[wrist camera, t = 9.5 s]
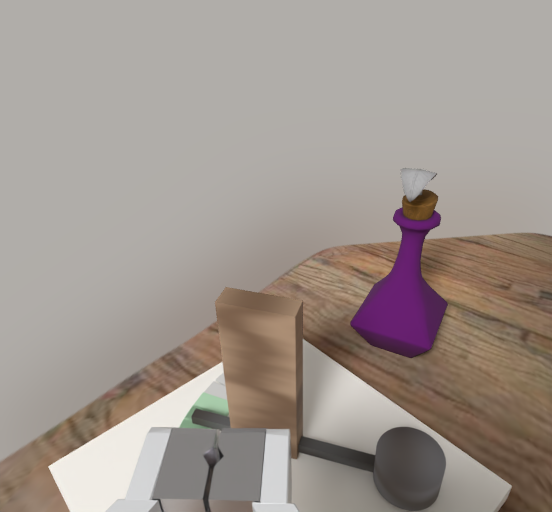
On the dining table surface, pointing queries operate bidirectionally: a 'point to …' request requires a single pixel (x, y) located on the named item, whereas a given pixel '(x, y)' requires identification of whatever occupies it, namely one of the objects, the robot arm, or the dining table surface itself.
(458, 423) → the dining table surface
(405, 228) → the perfume bottle
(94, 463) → the dial board
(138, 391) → the dining table surface
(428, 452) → the lever
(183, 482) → the robot arm
